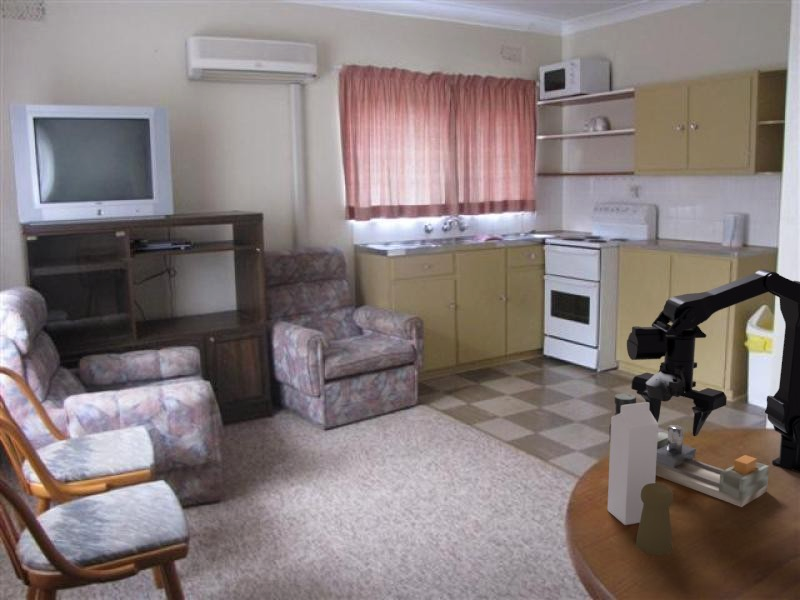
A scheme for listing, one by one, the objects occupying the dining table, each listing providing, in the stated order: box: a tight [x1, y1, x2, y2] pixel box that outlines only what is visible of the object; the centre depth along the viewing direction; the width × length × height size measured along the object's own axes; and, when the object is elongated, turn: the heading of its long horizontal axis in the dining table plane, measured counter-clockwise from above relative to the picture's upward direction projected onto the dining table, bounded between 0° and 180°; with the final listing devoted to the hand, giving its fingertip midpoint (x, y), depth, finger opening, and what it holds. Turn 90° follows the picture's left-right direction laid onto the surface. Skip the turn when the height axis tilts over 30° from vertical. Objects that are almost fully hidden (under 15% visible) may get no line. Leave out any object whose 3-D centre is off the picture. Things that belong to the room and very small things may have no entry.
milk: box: [607, 401, 659, 526], centre depth 134 cm, size 6×6×22 cm
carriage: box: [656, 424, 697, 468], centre depth 154 cm, size 8×5×7 cm, turn 128°
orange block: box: [733, 454, 758, 475], centre depth 142 cm, size 4×2×3 cm, turn 128°
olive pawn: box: [635, 482, 674, 556], centre depth 125 cm, size 6×6×11 cm
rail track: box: [655, 431, 770, 508], centre depth 151 cm, size 10×24×6 cm, turn 38°
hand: (674, 429), depth 153 cm, fingers open, 9 cm apart
